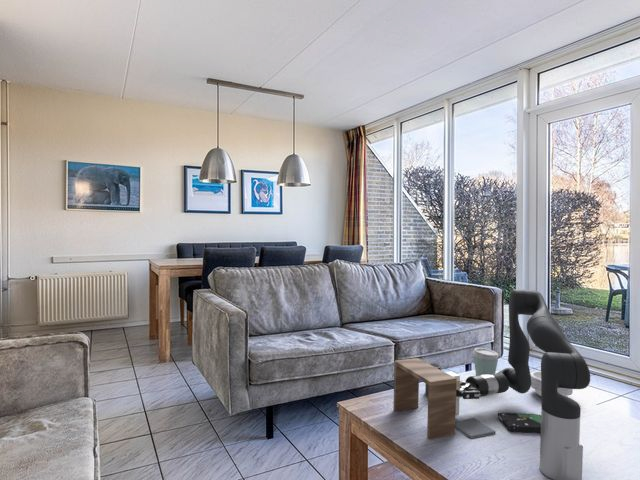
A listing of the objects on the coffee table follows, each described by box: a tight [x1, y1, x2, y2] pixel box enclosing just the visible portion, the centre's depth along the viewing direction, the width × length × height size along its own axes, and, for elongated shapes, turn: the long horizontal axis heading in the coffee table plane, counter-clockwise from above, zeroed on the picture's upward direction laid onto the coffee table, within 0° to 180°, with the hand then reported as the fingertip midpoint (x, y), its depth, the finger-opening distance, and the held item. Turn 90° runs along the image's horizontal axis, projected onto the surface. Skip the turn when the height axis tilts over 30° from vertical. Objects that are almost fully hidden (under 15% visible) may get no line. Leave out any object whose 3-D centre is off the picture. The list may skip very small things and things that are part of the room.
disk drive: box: [497, 412, 541, 435], centre depth 139 cm, size 10×3×15 cm
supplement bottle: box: [424, 363, 442, 397], centre depth 164 cm, size 7×7×12 cm
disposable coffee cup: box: [472, 347, 499, 376], centre depth 176 cm, size 11×11×15 cm
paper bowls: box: [530, 370, 574, 397], centre depth 165 cm, size 15×15×8 cm
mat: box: [455, 417, 496, 439], centre depth 136 cm, size 10×10×1 cm
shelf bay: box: [392, 357, 457, 440], centre depth 141 cm, size 22×10×18 cm, turn 21°
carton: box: [444, 371, 461, 416], centre depth 145 cm, size 5×5×14 cm
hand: (444, 391), depth 144 cm, fingers closed on carton, 4 cm apart
